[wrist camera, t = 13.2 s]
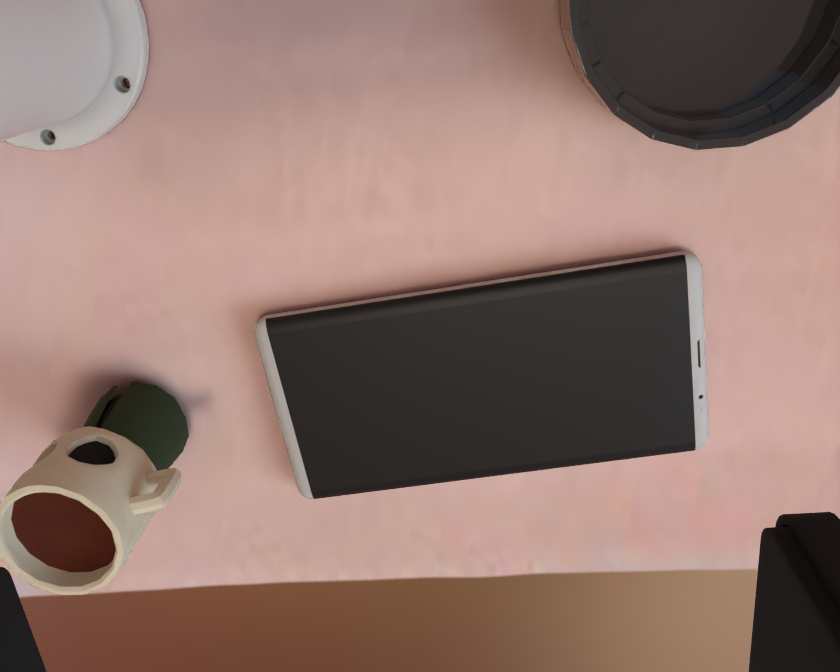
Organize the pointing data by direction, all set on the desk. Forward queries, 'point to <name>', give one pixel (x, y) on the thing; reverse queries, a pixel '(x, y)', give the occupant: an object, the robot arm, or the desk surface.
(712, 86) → the pan
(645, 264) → the smartphone
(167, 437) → the character mug
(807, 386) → the desk surface
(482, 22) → the desk surface
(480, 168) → the desk surface
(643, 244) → the desk surface
